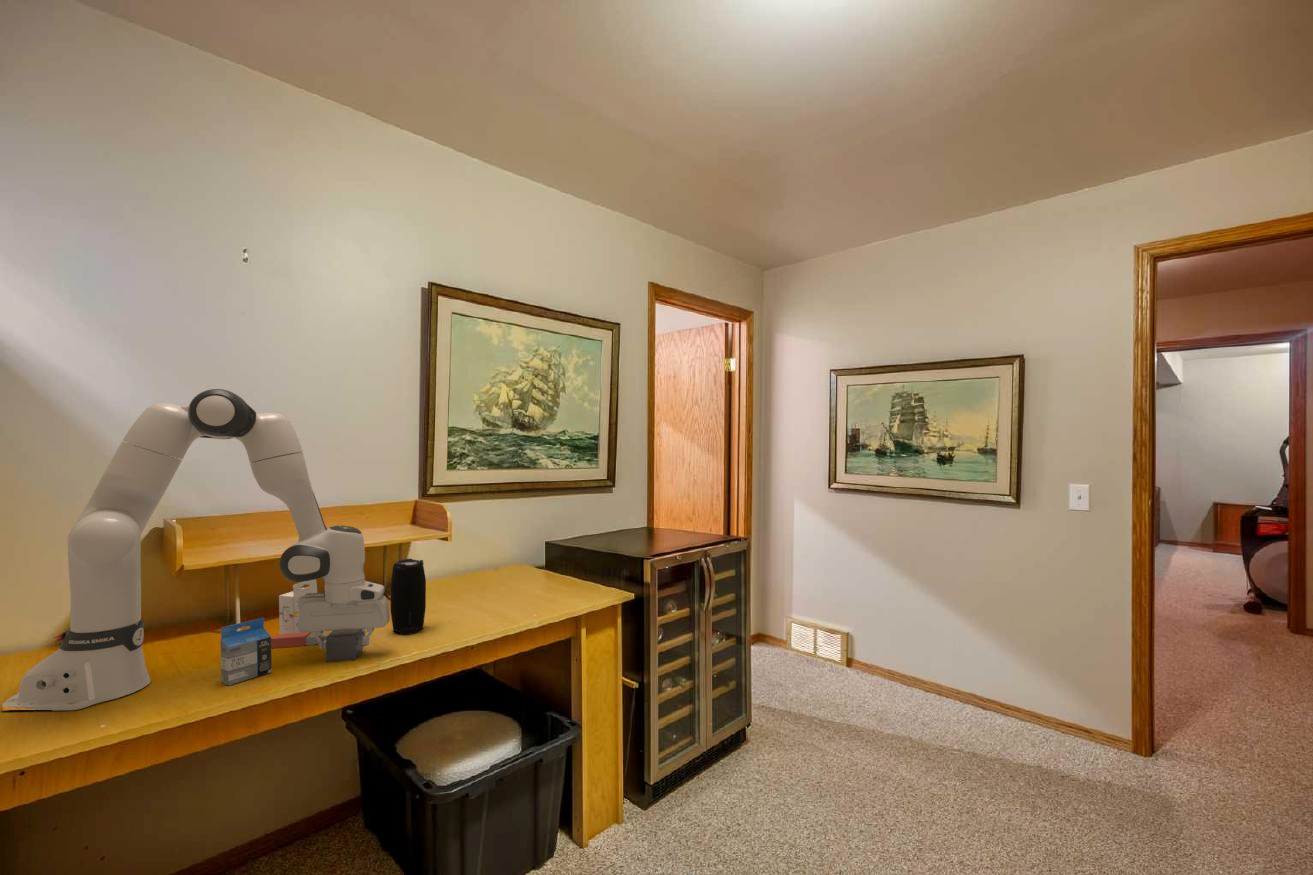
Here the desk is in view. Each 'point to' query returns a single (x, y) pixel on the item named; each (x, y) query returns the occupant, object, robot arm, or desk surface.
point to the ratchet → (297, 639)
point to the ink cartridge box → (293, 606)
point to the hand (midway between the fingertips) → (344, 646)
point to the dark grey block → (344, 645)
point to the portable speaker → (408, 596)
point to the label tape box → (245, 652)
